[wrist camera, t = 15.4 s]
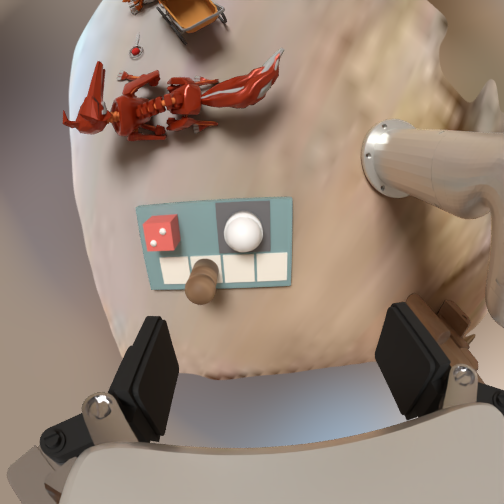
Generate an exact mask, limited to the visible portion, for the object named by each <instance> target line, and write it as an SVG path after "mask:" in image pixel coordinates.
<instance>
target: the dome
mask: <svg viewBox="0 0 504 504" xmlns="http://www.w3.org/2000/svg"><path fill="white" fill-rule="evenodd" d="M224 238H225V241H226V243H227V244H228V245H229V247H231V248H232V249H233V250H236V251H238V252H249V251H252V250H254V249H255V248H256V247H258V246H259V244H260V243H261V241H262V238H263V229H262V224H261V221H260V219H259V218H258V217H257V216H256V215H255V214H253V213H252V212H249V211H238V212H236V213H234V214H232V215H231V216H230V217H229V218H228V220H227V222H226V225H225V229H224Z"/></svg>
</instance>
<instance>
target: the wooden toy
mask: <svg viewBox="0 0 504 504" xmlns="http://www.w3.org/2000/svg"><path fill="white" fill-rule="evenodd" d="M406 304H407V305H408V306H409V307H410V309H411V310H412V311H413V312H414V314H415V315H416V316H417V317H418V319H419V320H420V321H421V322H422V324H423V325H424V326H425V328H426V329H427V330H428V331H429V333H430V334H431V335H432V337H433V338H434V339H435V341H436V342H437V343H438V345H439V346H440V347H441V349H442V350H443V352H444V353H445V354H446V356H447V357H448V358H449V360H450V361H451V363H450V366H451V367H453V366H454V365H456V364H466V365H468V366H470V367H471V368H473V369H474V370H475V372H476V371H477V370H478V361H477V360H476V359H475V357H474V356H473V355H472V354H471V352H470V351H469V350H468V349H469V345H468V344H467V343H466V342H465V340H464V339H463V338H462V337H463V335H464V334H465V332H466V331H467V329H468V327H469V326H470V324H471V321H470V319H469V318H468V317H467V315H466V314H465V313H464V312H463V311H462V310H461V309H460V308H459V307H458V306H457V305H456V304H455V303H454V302H452V301H447V300H445V302H444V303H443V305H442V307H441V309H440V311H439V313H438V314H437V315H436V314H435V313H434V312H433V311H432V310H431V308H430V307H429V306H428V305H427V304H426V303H425V302H424V301H423V299H422V298H421V297H420V296H419V295H418V294H411V295H410V296H409V297H408V298H407V301H406ZM476 373H477V372H476ZM477 376H478V382H480V383H483V384H485V383H484V382H483V381H482V379H481V378H480V376H479V375H478V373H477Z"/></svg>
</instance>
